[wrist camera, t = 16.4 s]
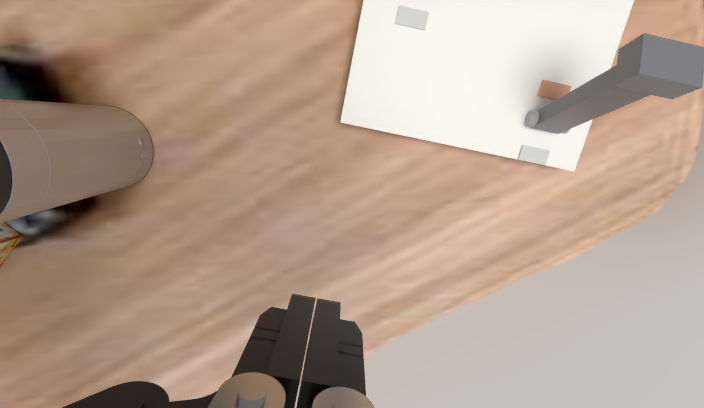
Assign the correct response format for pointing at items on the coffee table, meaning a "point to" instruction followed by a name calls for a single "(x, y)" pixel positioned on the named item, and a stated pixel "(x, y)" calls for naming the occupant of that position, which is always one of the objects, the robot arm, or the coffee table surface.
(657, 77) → the lever
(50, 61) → the coffee table surface
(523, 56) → the switch base
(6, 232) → the board game box
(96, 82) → the coffee table surface
